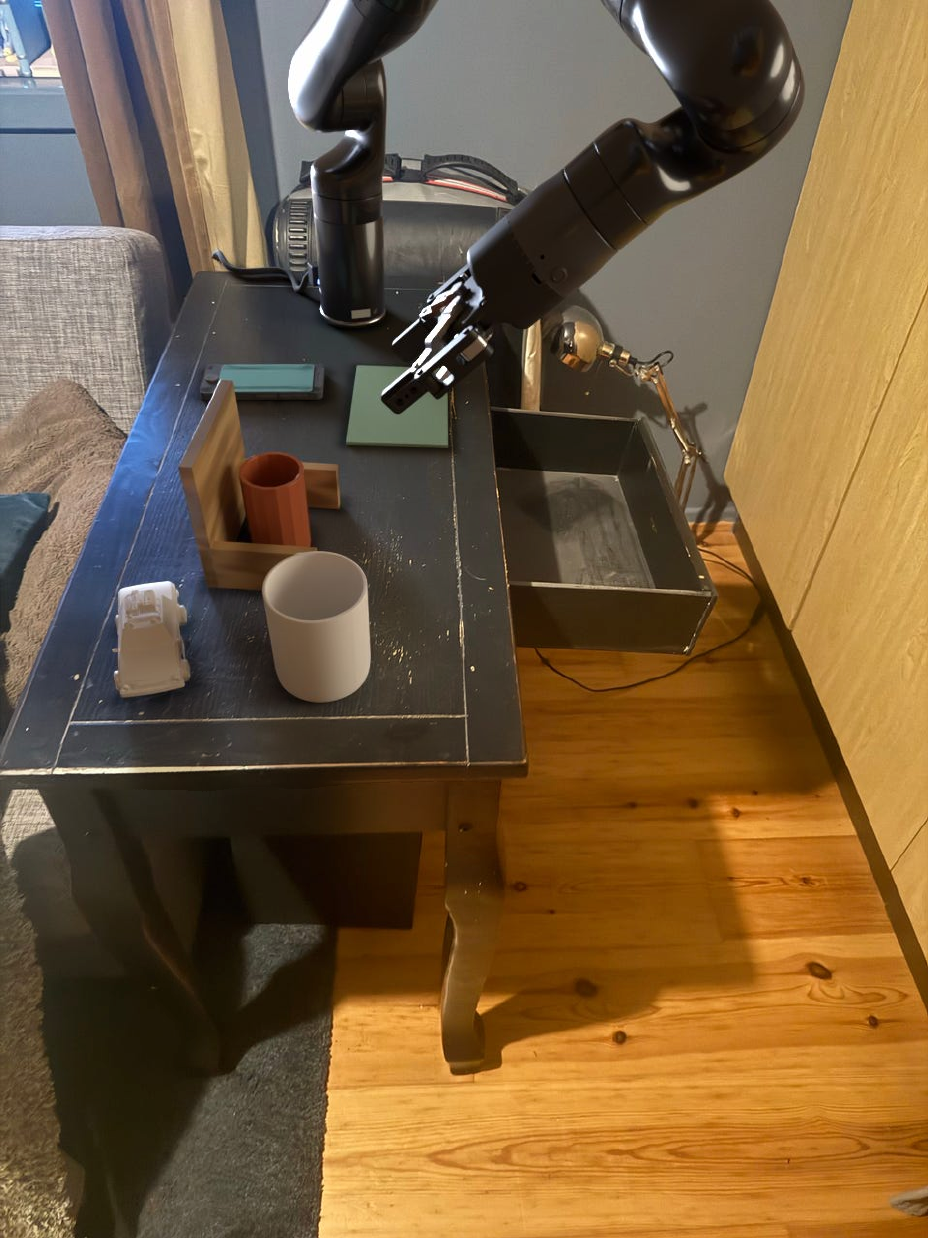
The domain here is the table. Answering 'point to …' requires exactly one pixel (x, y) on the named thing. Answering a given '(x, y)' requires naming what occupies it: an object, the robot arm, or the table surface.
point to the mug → (318, 625)
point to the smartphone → (266, 381)
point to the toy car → (150, 640)
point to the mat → (386, 428)
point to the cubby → (235, 498)
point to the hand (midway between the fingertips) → (393, 378)
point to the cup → (275, 499)
